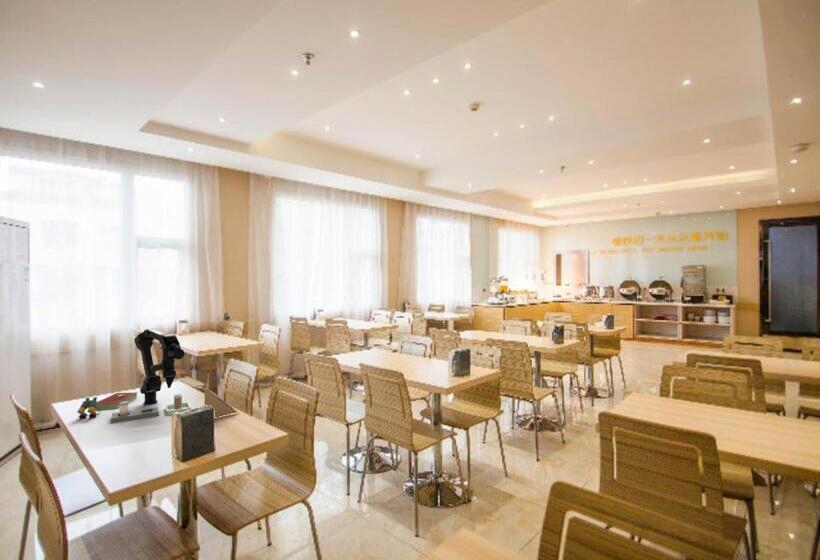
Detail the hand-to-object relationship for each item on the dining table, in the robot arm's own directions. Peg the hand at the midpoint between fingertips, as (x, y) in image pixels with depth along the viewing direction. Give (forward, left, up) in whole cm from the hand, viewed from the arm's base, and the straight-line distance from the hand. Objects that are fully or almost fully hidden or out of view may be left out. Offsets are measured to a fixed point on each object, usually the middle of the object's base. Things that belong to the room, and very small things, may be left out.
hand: (168, 386), depth 231 cm
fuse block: (+9, -15, -12) cm, 21 cm away
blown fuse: (+9, +4, -11) cm, 15 cm away
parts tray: (+9, +4, -12) cm, 16 cm away
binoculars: (-2, -35, -12) cm, 37 cm away
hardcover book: (-25, -24, -13) cm, 37 cm away
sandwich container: (+28, +23, -12) cm, 38 cm away
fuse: (+9, -20, -12) cm, 25 cm away
